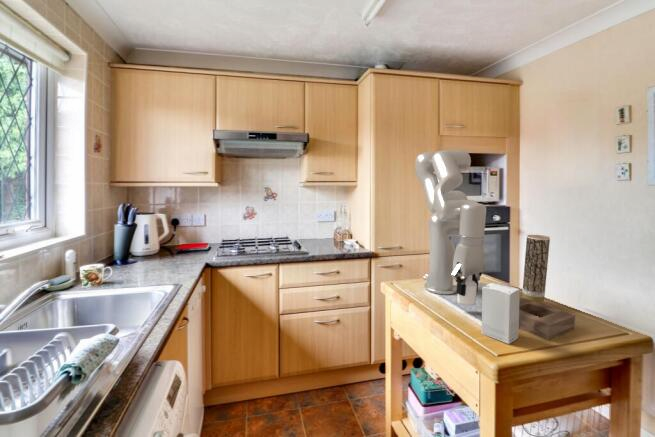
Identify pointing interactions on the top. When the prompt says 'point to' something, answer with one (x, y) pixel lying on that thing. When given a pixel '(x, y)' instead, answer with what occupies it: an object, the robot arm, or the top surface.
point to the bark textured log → (535, 268)
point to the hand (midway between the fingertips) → (466, 292)
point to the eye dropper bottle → (468, 293)
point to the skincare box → (500, 312)
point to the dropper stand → (544, 319)
